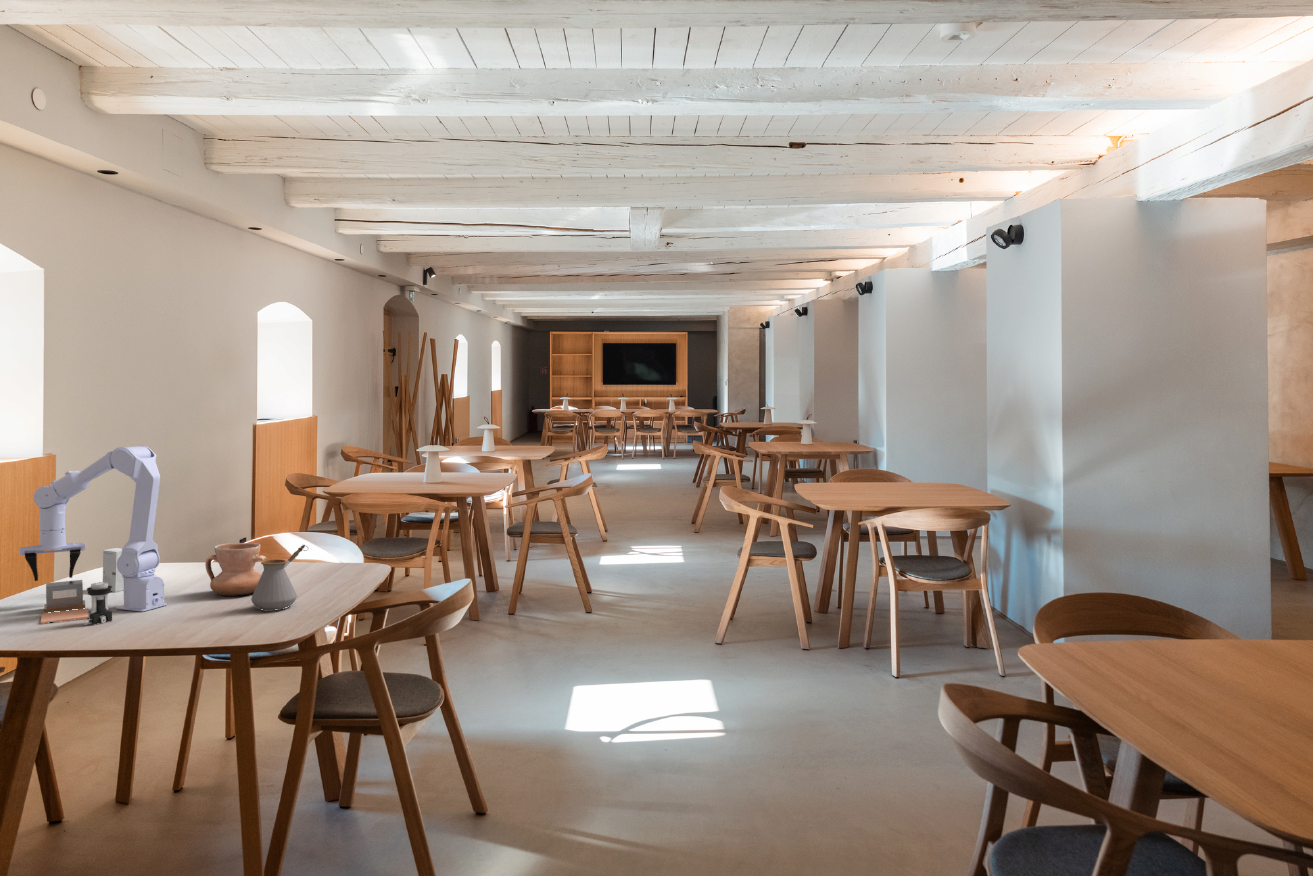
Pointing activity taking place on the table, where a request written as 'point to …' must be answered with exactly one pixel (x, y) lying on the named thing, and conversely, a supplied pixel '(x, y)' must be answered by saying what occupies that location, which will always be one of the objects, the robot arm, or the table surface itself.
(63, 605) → the wall unit
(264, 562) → the coffee pot
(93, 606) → the push button
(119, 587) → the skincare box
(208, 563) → the ceramic jug
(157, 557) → the robot arm
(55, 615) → the terracotta mat
